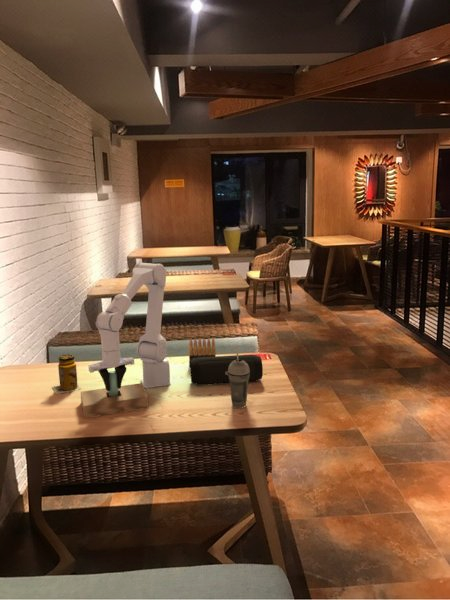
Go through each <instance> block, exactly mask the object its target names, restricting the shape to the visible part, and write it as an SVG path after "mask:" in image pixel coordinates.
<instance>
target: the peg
mask: <svg viewBox="0 0 450 600" xmlns="http://www.w3.org/2000/svg"><path fill="white" fill-rule="evenodd" d="M108 372H109V373H110V376H109V384H110V391H109V397H116V396H118V383H117V372H116V371H115V370H111V371H108Z"/></svg>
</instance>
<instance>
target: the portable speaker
mask: <svg viewBox="0 0 450 600" xmlns="http://www.w3.org/2000/svg"><path fill="white" fill-rule="evenodd" d="M238 358H239V359H240V360H243V361H245V362H246V363H247V364H248V366H249V369H250V376H249V379H248V383H256V382H258V381H260V380H262V378H263V375H264V374H263V373H264V372H263V371H264V370H263V369H264V367H263V361H262V357H261V356H259V355H256V354H238ZM234 360H237V354H236V355H220V356H218V355H217V356H215V357H197V358H195V359H192V360H190V368H189V369H190V383H191V384H194V385H197V386H208V384H212V385H224V384H225V383H229V384H230V380H229V376H228V368H229V365H230V364H231V363H232V362H233V361H234ZM225 385H226V384H225Z"/></svg>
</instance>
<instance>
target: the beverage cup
mask: <svg viewBox="0 0 450 600" xmlns="http://www.w3.org/2000/svg"><path fill="white" fill-rule="evenodd" d="M235 348H236V355H237V360H234V361H233V362H232V363H231V364H230V365H229V368H228V376H229V380H230V383H229V390H230V398H231V404H232V405H231V406H232V407H233V408H234V407H236V408H235V409H243V408H242V407H244V406H246V407H247V399H248V389H249V382H248V379H249V376H250V369H249V366H248V364H247V363H246V362H245V361H243V360H240V359H239V358H238V355H239V347H238V345H236V346H235ZM244 408H245V407H244Z"/></svg>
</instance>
